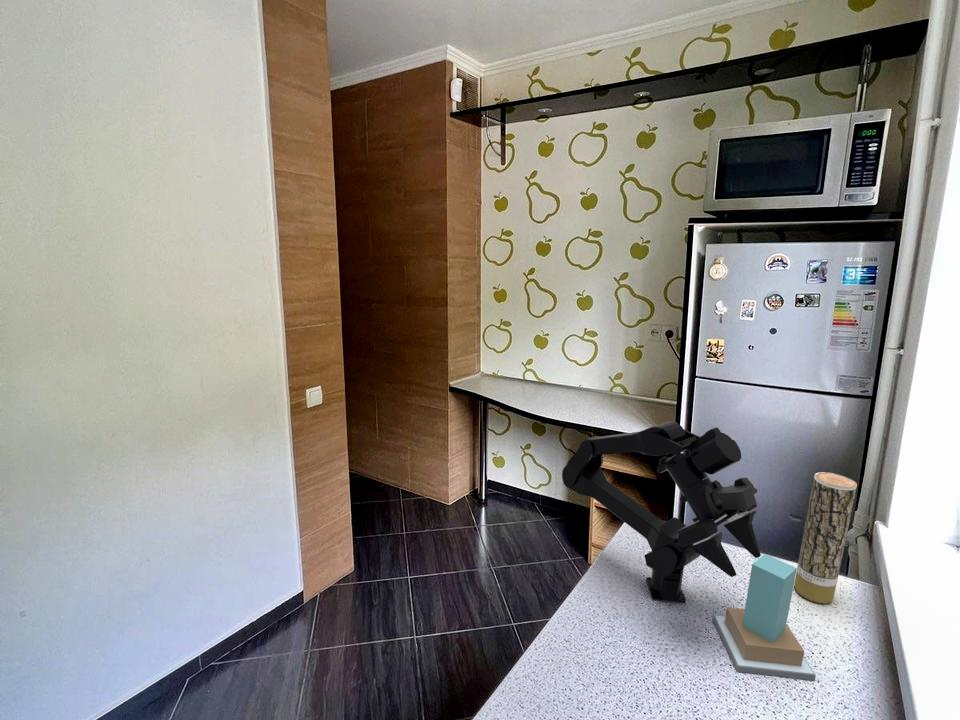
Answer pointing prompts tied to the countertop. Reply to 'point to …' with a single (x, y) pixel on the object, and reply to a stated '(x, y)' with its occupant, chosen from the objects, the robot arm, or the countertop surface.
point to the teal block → (769, 597)
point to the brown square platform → (761, 649)
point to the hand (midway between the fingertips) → (746, 566)
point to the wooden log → (824, 536)
